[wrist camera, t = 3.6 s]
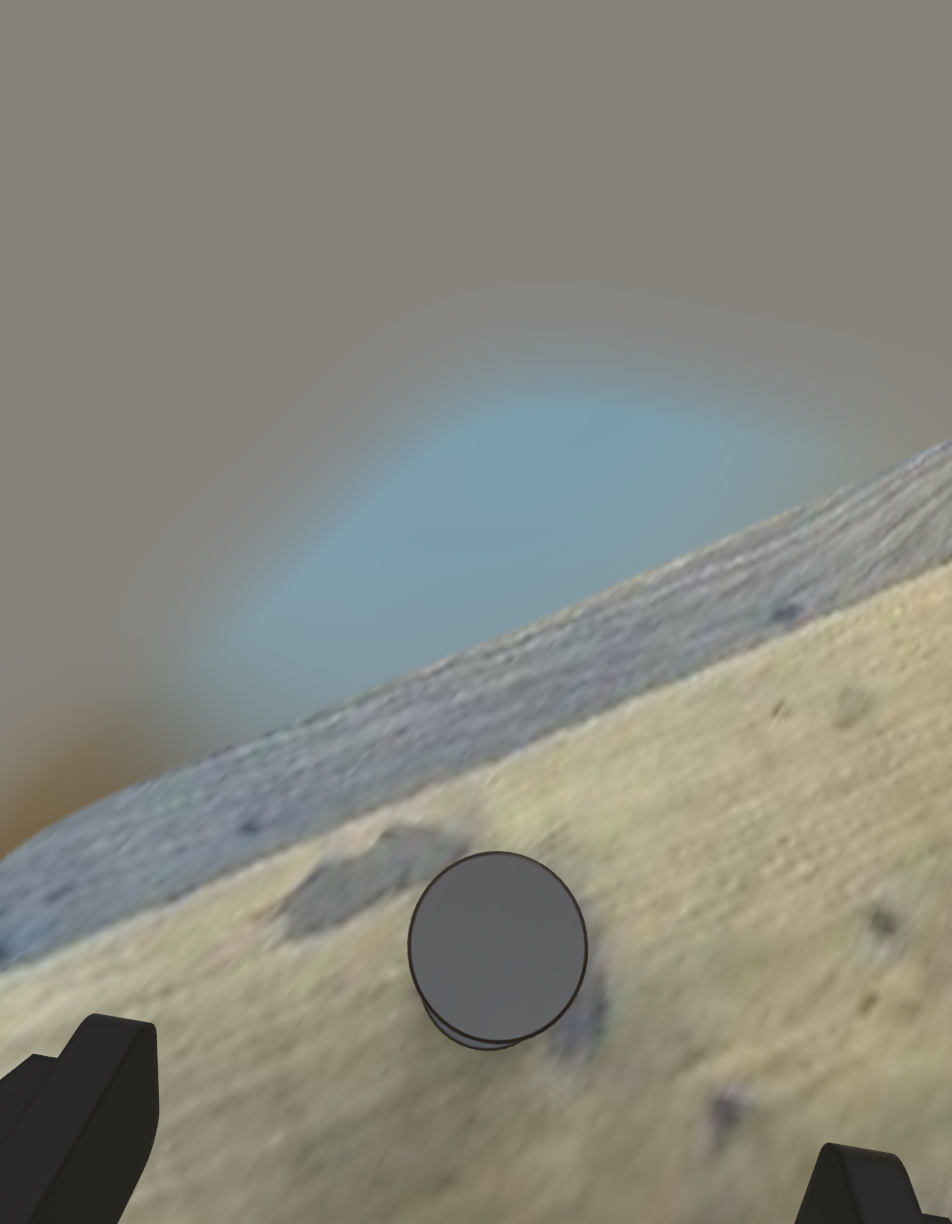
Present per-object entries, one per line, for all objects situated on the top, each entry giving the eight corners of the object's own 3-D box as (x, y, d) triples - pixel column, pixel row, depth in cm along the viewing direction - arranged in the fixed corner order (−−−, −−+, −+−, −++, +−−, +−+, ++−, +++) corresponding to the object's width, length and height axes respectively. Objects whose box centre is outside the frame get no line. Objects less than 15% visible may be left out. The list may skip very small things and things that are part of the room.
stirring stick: (559, 917, 25) (657, 818, 11) (543, 1057, 24) (633, 1140, 10) (434, 897, 25) (381, 775, 11) (411, 1035, 24) (319, 1083, 10)
